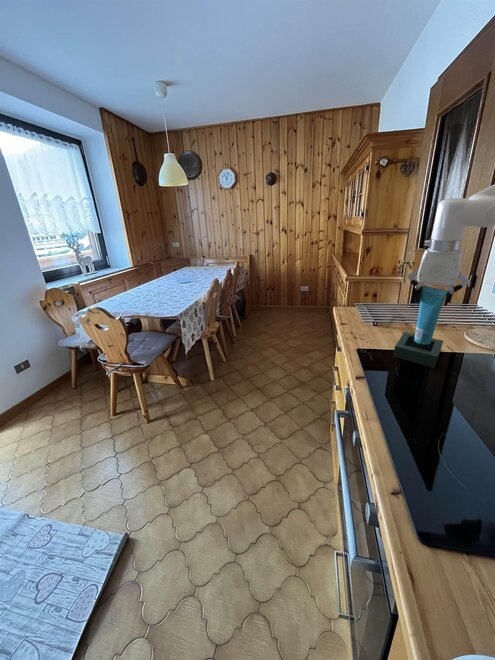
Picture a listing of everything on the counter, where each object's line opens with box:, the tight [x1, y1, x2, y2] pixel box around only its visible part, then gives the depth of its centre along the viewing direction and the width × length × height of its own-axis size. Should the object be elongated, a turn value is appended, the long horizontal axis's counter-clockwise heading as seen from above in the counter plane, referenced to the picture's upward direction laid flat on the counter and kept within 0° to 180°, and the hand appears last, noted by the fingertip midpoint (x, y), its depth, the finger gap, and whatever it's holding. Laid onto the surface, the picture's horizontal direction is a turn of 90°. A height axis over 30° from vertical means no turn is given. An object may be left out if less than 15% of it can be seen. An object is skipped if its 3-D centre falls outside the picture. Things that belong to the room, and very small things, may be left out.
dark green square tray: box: [392, 331, 444, 369], centre depth 98 cm, size 12×12×5 cm
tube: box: [414, 284, 448, 345], centre depth 92 cm, size 7×5×19 cm, turn 39°
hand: (431, 301), depth 90 cm, fingers closed on tube, 7 cm apart
